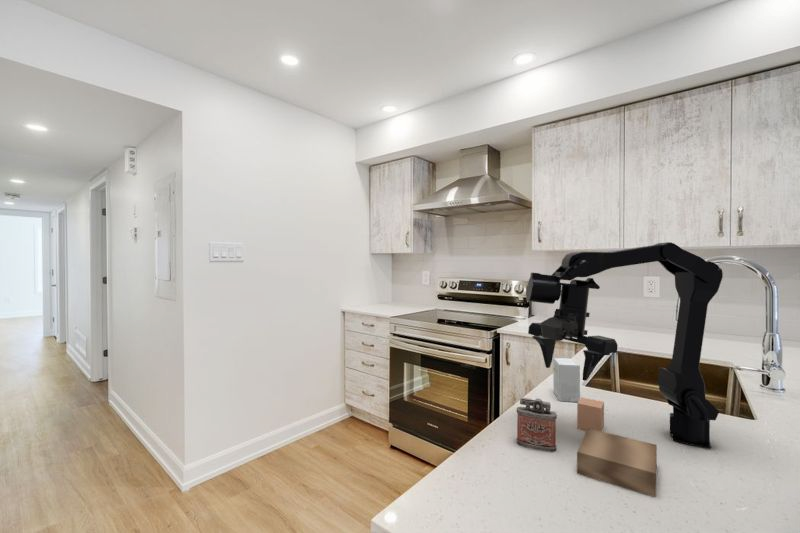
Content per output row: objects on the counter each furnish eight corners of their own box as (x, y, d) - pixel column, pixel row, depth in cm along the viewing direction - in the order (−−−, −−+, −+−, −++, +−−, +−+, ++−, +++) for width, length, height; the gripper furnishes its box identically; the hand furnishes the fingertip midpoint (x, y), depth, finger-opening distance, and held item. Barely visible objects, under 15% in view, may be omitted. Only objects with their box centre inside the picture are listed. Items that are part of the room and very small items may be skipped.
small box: (580, 403, 103) (580, 365, 103) (558, 401, 104) (559, 364, 104) (572, 393, 111) (572, 358, 111) (553, 391, 112) (553, 357, 112)
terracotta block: (603, 426, 88) (604, 401, 88) (601, 434, 84) (601, 408, 84) (580, 421, 91) (581, 397, 91) (577, 428, 87) (577, 403, 87)
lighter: (556, 446, 78) (557, 399, 78) (556, 453, 75) (556, 405, 75) (517, 438, 82) (517, 394, 82) (515, 445, 79) (515, 399, 79)
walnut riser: (656, 465, 71) (656, 444, 71) (655, 497, 61) (655, 473, 61) (587, 447, 78) (587, 428, 78) (577, 473, 68) (577, 451, 68)
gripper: (517, 299, 88) (509, 364, 88) (594, 313, 72) (585, 392, 72) (545, 300, 94) (538, 361, 94) (622, 313, 78) (614, 386, 79)
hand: (565, 373), depth 85 cm, fingers open, 9 cm apart
